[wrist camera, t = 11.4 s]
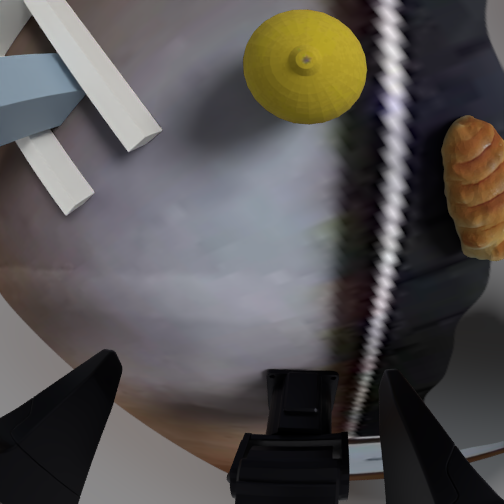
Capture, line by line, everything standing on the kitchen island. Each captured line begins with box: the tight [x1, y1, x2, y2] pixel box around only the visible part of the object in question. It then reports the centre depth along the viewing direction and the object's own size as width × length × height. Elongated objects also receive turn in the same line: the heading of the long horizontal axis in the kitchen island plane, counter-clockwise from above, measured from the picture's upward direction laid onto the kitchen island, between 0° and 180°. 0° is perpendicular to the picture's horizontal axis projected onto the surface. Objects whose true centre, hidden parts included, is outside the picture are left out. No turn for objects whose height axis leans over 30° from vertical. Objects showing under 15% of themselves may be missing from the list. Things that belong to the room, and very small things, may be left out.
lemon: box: [243, 10, 367, 124], centre depth 13 cm, size 6×6×8 cm
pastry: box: [441, 115, 504, 261], centre depth 16 cm, size 9×7×4 cm
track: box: [0, 0, 162, 216], centre depth 15 cm, size 18×9×6 cm, turn 35°
